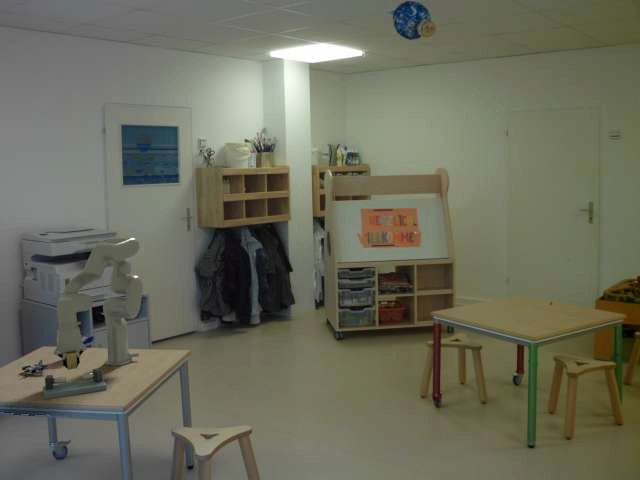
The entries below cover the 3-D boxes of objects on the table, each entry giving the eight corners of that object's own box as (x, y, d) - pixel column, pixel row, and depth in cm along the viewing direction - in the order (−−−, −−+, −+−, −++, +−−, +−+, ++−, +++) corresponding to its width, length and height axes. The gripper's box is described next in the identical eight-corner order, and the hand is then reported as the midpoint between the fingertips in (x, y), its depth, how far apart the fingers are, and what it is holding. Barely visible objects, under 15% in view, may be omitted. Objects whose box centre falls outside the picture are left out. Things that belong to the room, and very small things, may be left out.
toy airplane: (17, 380, 303) (17, 372, 302) (17, 372, 315) (16, 364, 315) (49, 376, 308) (48, 368, 308) (47, 368, 321) (47, 361, 320)
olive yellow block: (66, 366, 302) (64, 351, 301) (75, 365, 304) (74, 349, 303) (67, 369, 298) (66, 354, 297) (77, 368, 300) (76, 352, 299)
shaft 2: (98, 379, 296) (98, 368, 295) (102, 381, 293) (102, 370, 292) (81, 383, 291) (80, 371, 290) (85, 385, 288) (84, 373, 287)
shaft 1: (45, 390, 283) (44, 378, 282) (47, 387, 287) (46, 375, 286) (65, 388, 284) (64, 376, 284) (66, 385, 288) (66, 373, 288)
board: (102, 382, 298) (102, 377, 298) (106, 389, 288) (106, 384, 288) (43, 391, 287) (42, 386, 287) (45, 398, 278) (45, 394, 277)
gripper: (86, 321, 305) (90, 360, 308) (46, 326, 298) (50, 367, 300) (89, 324, 298) (92, 365, 301) (48, 330, 291) (52, 372, 294)
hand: (71, 366), depth 301 cm, fingers closed on olive yellow block, 4 cm apart
